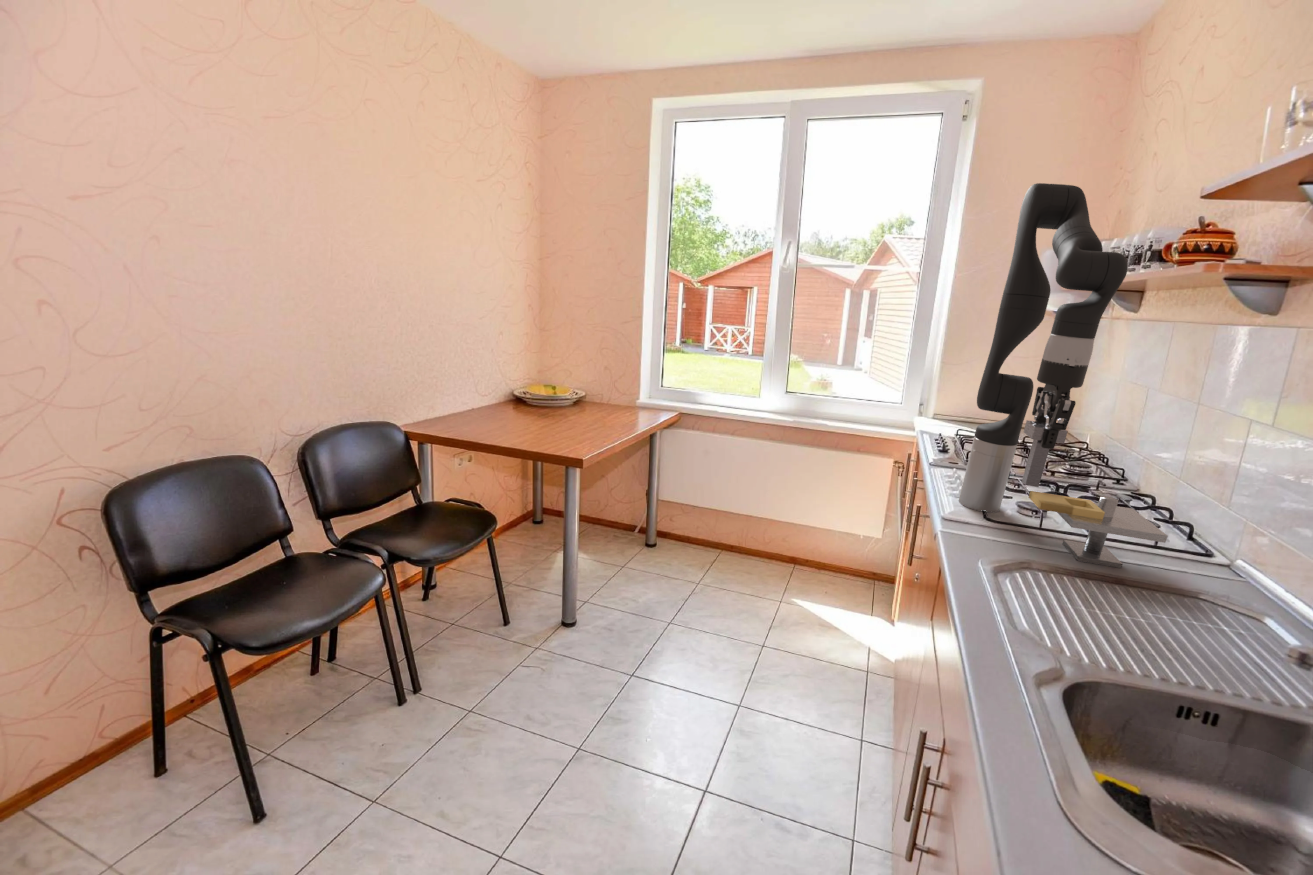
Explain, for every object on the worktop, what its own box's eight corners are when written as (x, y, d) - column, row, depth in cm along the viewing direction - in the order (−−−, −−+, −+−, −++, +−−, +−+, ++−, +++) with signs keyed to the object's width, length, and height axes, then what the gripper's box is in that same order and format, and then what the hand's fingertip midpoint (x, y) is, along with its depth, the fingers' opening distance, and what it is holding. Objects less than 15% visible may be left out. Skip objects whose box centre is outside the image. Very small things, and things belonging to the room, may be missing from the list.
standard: (1119, 548, 128) (1137, 493, 124) (1151, 579, 115) (1174, 519, 111) (1037, 534, 131) (1053, 480, 128) (1060, 563, 118) (1078, 504, 115)
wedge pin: (1011, 477, 123) (1026, 420, 119) (1040, 481, 121) (1057, 424, 118) (1018, 486, 118) (1035, 427, 114) (1050, 491, 116) (1067, 431, 113)
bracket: (1088, 506, 124) (1090, 500, 124) (1102, 519, 117) (1104, 512, 117) (1028, 497, 127) (1030, 490, 126) (1039, 509, 120) (1041, 502, 120)
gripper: (1031, 352, 120) (1011, 431, 125) (1056, 363, 106) (1031, 451, 111) (1073, 357, 118) (1050, 437, 123) (1103, 368, 104) (1076, 457, 109)
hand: (1041, 443), depth 117 cm, fingers closed on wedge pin, 5 cm apart
